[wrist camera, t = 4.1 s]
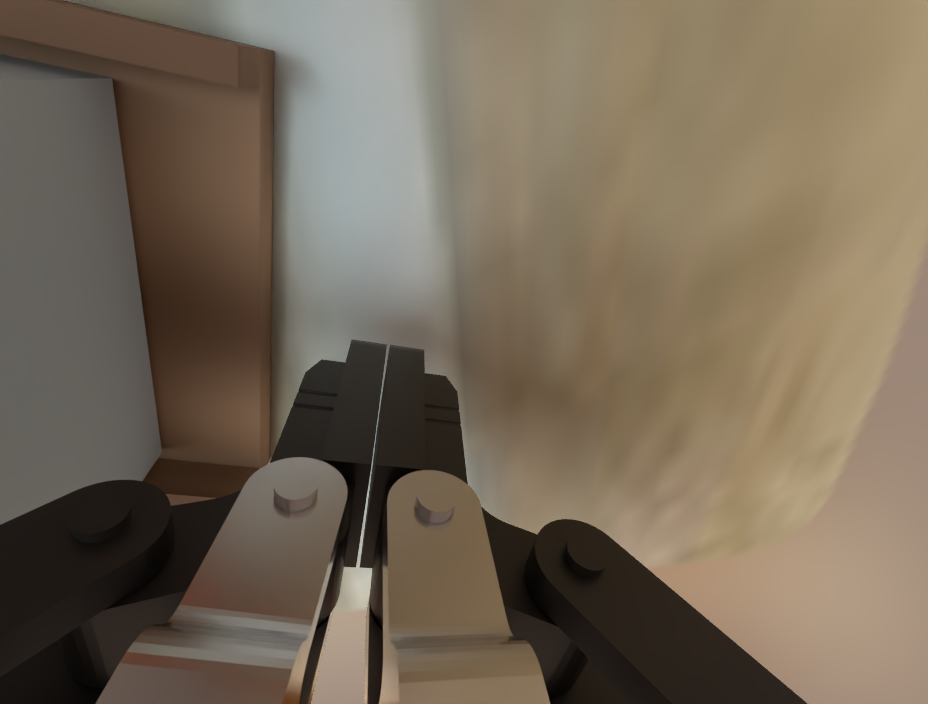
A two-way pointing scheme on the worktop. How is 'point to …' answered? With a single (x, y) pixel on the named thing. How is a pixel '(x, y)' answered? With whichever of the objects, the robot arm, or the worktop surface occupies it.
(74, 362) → the grey square collar
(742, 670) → the robot arm
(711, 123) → the worktop surface
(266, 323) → the track
